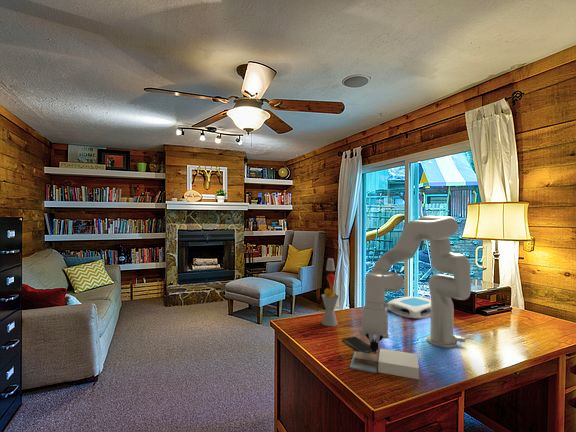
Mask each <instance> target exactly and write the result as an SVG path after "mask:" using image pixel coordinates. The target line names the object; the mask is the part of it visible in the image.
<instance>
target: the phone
mask: <svg viewBox="0 0 576 432" xmlns="http://www.w3.org/2000/svg"><path fill="white" fill-rule="evenodd" d="M342 342H343V343H345V344H346V345H347V346H349V347H350V348H352V349H353V350H354V351H355V352H357V351H358V352H364V353H373V352H372V349H370V344H368V343H366V342H365V341H363V339H360V338H359V337H357V336H350V337H343V338H342Z"/></svg>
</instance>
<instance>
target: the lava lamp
mask: <svg viewBox="0 0 576 432" xmlns="http://www.w3.org/2000/svg"><path fill="white" fill-rule="evenodd" d="M325 270H326V271H329V272H334V271H336V268H335V262H334V258H330V257H329V258H327V261H326V268H325ZM335 277H336V276H335V275H334V274H333V273H329V274H327V275H326V280H327V282H328V284H329V288H327V287H326V288H325V289H324V291H323V292H324V293H323V294H321V299H322V301H323V305H324V307H325V310H324V311H325V312H324V314H323V317H322V320H321V325H323V326H327V327H335V326H337V325H338V320H337V317H336V313H335V307H336V305H337V302H338V298H339V295H338V294H335V292H334V283H335Z"/></svg>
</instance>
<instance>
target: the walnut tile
mask: <svg viewBox="0 0 576 432" xmlns="http://www.w3.org/2000/svg"><path fill="white" fill-rule="evenodd" d="M355 352H356V354H355V357H354V363H359V364H364V365H370V366H375V367H377V368H378V361H379V354H376V353H371V352H369V353H364V352H358V351H355Z"/></svg>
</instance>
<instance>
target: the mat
mask: <svg viewBox="0 0 576 432" xmlns="http://www.w3.org/2000/svg"><path fill="white" fill-rule="evenodd" d="M356 352H357V351H353V355H352V359H351V362H350V365H349V369H352V370H358V371H363V372H367V373H368V372H369V373H373V374H377V373H378V367H375V366H370V365H364V364H359V363H354V357H355V354H356Z"/></svg>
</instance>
